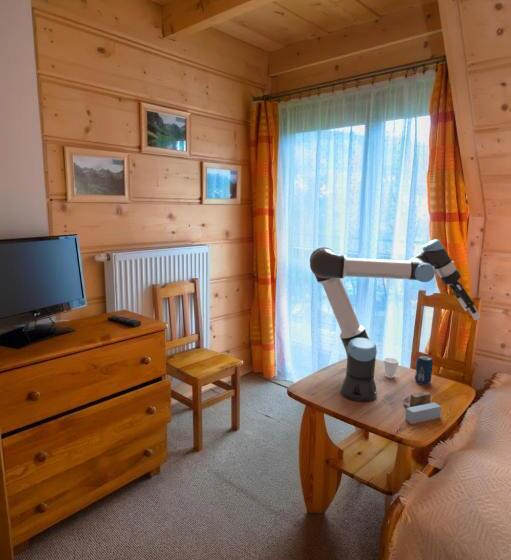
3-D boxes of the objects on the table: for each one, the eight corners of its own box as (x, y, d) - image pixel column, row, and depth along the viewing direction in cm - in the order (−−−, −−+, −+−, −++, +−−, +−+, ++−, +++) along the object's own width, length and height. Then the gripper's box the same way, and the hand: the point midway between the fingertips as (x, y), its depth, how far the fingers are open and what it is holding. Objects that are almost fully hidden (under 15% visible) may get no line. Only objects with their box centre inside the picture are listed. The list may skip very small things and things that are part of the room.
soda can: (428, 379, 202) (430, 355, 200) (432, 385, 195) (435, 360, 193) (412, 378, 203) (415, 354, 200) (416, 384, 196) (419, 359, 193)
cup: (387, 379, 200) (388, 363, 199) (376, 371, 210) (377, 355, 208) (400, 378, 202) (402, 362, 200) (388, 370, 211) (390, 354, 210)
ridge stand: (416, 414, 169) (417, 400, 168) (403, 406, 175) (405, 392, 174) (435, 409, 173) (437, 396, 172) (422, 402, 179) (423, 388, 178)
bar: (439, 418, 167) (441, 406, 166) (411, 424, 162) (412, 412, 161) (433, 413, 170) (434, 402, 169) (405, 420, 165) (406, 408, 164)
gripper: (465, 274, 170) (491, 318, 172) (448, 263, 194) (471, 302, 196) (447, 283, 172) (473, 327, 174) (433, 271, 196) (456, 310, 198)
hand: (472, 314), depth 185 cm, fingers open, 13 cm apart
